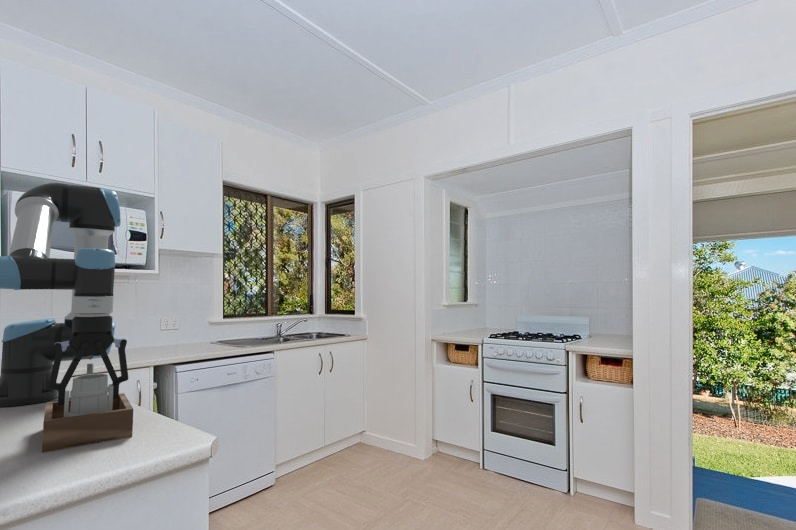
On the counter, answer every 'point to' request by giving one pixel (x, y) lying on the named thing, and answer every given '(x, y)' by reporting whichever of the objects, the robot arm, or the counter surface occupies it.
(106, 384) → the mug
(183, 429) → the counter surface
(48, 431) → the wooden box
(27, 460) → the counter surface
